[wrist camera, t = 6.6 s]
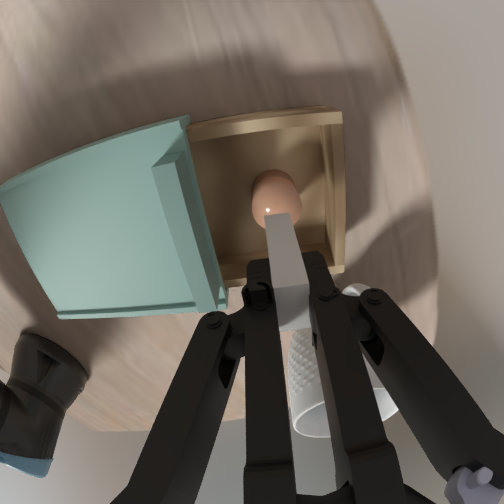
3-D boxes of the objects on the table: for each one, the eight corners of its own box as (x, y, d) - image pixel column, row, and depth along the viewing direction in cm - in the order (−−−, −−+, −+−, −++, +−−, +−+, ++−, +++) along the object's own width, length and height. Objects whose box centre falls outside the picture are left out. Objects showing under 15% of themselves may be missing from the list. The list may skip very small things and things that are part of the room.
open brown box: (152, 267, 29) (140, 296, 25) (110, 145, 22) (85, 160, 18) (331, 243, 27) (344, 272, 24) (324, 105, 20) (341, 111, 16)
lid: (70, 299, 28) (51, 334, 23) (12, 176, 19) (-23, 202, 15) (229, 284, 26) (225, 328, 22) (189, 114, 18) (169, 126, 14)
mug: (299, 248, 28) (326, 363, 17) (396, 257, 28) (452, 352, 18) (274, 346, 36) (281, 440, 25) (353, 347, 37) (376, 431, 26)
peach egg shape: (254, 212, 25) (255, 233, 22) (248, 172, 23) (248, 188, 20) (297, 206, 24) (303, 227, 21) (293, 166, 22) (300, 182, 19)
